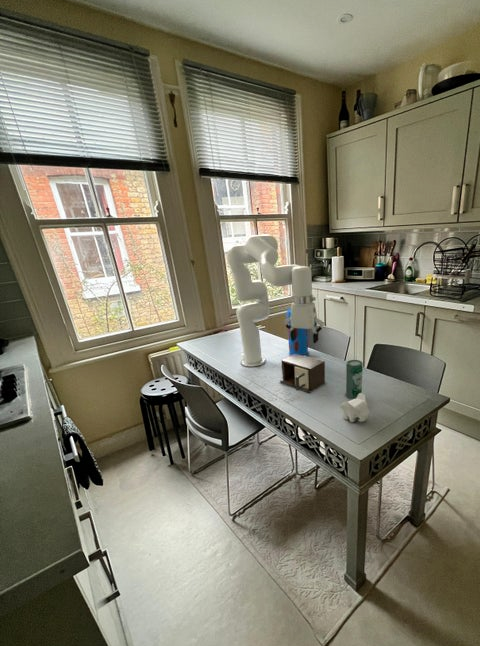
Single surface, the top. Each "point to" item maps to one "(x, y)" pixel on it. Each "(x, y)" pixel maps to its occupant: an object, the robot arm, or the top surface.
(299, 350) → the blue tall cylinder
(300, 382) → the door
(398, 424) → the top surface
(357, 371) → the can
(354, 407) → the elephant figurine
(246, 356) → the robot arm
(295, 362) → the cabinet
